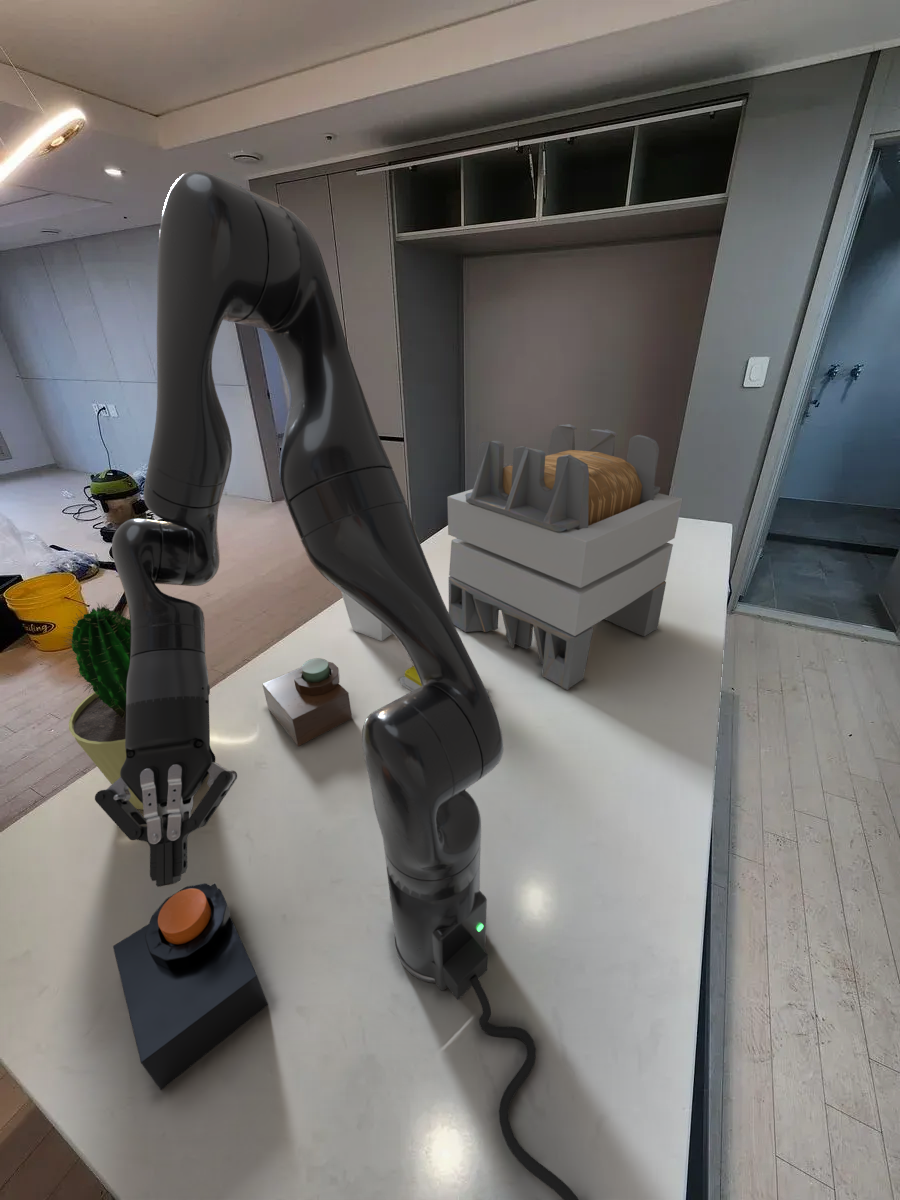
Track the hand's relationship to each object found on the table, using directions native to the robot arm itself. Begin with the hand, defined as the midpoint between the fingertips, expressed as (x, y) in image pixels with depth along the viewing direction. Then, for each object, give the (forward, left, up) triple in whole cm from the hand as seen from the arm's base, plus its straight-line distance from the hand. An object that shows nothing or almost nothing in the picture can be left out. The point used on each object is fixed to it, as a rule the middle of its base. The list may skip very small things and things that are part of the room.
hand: (169, 883), depth 48 cm
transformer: (+20, -81, -14) cm, 84 cm away
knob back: (+29, -29, -7) cm, 41 cm away
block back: (+29, -27, -14) cm, 41 cm away
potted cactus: (+30, -4, -14) cm, 33 cm away
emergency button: (+19, -49, -14) cm, 54 cm away
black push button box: (-2, +1, -14) cm, 14 cm away
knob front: (0, 0, -7) cm, 7 cm away
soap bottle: (+45, -52, -14) cm, 70 cm away
